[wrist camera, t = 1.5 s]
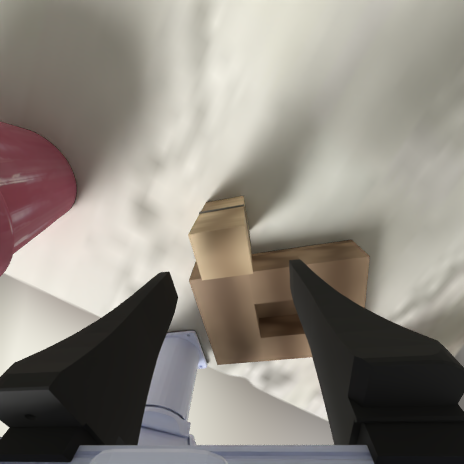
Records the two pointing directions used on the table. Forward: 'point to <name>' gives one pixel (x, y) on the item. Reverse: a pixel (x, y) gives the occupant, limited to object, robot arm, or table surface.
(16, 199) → the plant pot
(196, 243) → the oak peg
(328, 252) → the walnut socket block
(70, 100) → the table surface
